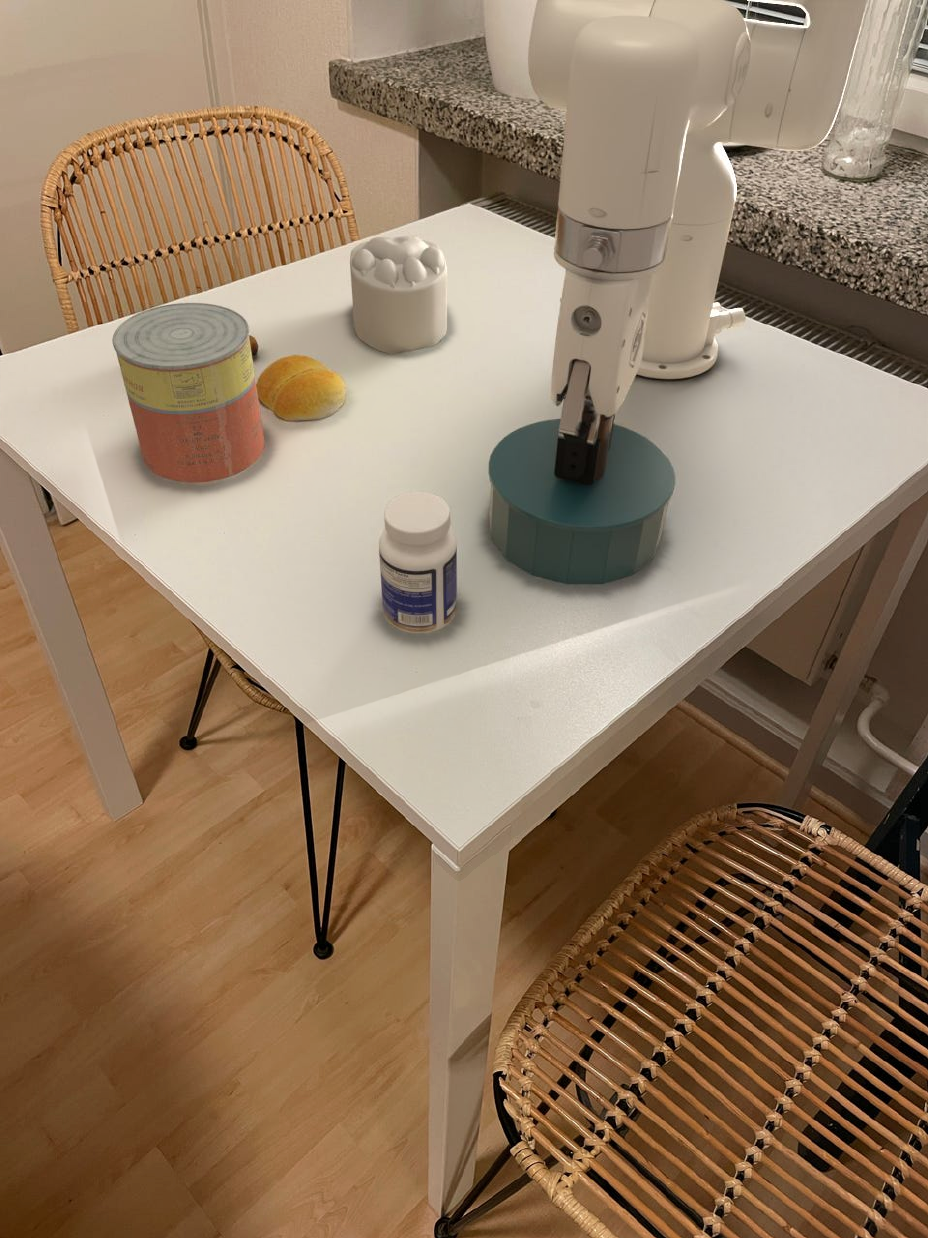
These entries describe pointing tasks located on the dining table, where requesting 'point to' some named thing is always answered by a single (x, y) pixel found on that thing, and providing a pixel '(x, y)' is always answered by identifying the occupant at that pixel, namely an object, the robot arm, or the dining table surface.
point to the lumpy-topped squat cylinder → (399, 293)
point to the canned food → (191, 390)
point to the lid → (618, 498)
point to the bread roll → (301, 389)
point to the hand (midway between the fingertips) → (582, 461)
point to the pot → (572, 547)
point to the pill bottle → (418, 563)
